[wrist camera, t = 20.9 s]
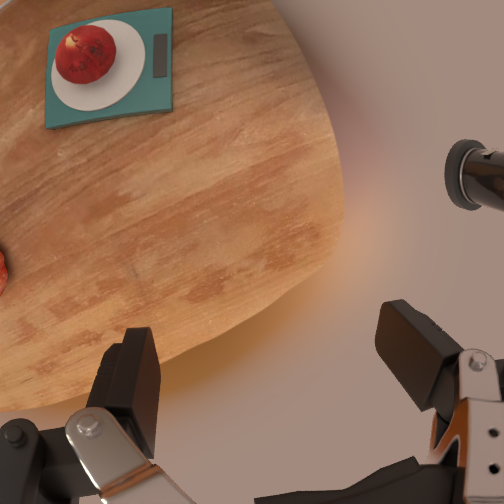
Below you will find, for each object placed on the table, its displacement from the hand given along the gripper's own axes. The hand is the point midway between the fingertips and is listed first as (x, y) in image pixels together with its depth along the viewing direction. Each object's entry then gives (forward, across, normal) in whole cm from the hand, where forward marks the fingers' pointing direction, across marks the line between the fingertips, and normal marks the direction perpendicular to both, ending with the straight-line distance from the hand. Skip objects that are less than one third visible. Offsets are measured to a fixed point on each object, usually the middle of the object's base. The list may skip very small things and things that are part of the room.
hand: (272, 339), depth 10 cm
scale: (+26, +12, -16) cm, 33 cm away
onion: (+23, +13, -16) cm, 31 cm away
